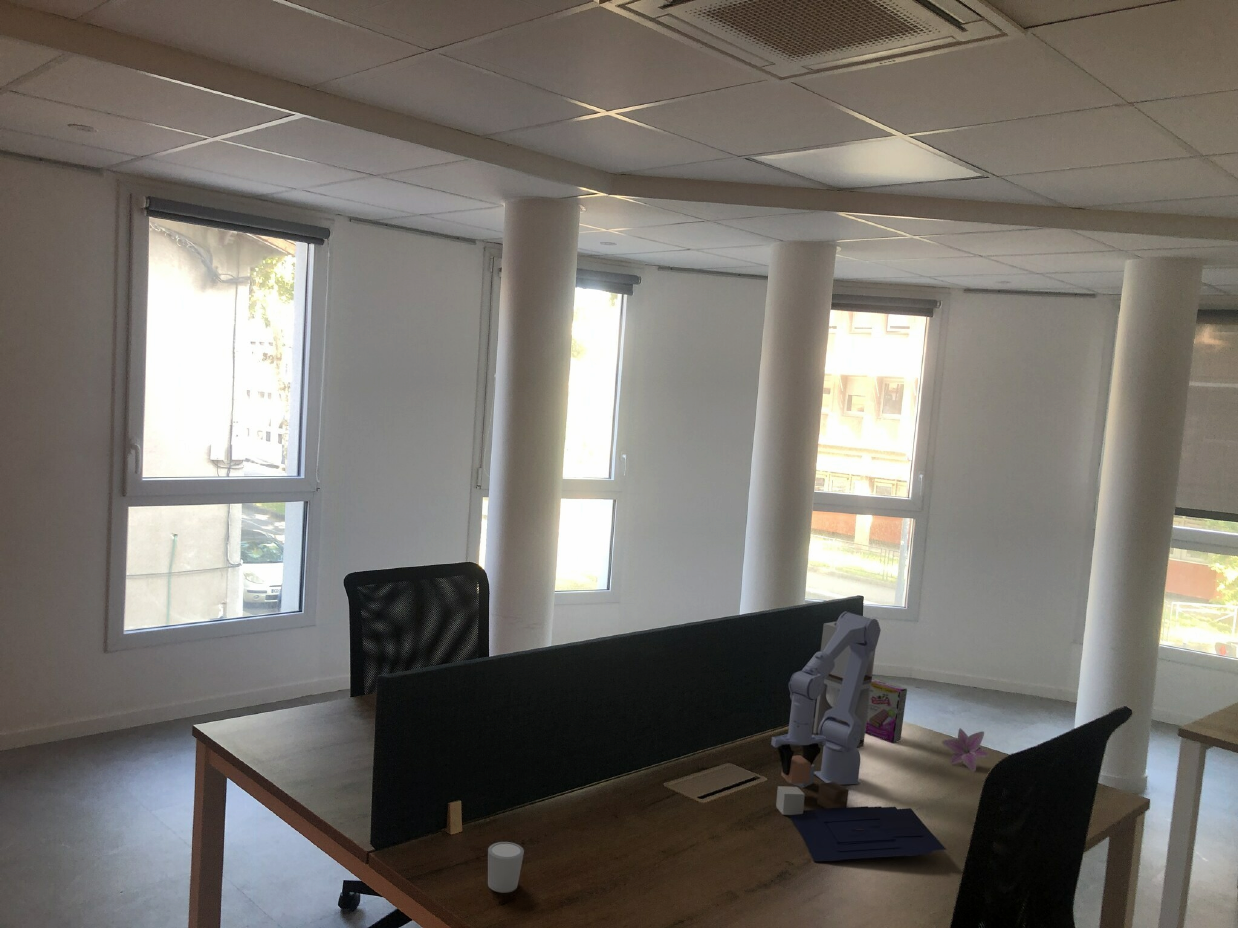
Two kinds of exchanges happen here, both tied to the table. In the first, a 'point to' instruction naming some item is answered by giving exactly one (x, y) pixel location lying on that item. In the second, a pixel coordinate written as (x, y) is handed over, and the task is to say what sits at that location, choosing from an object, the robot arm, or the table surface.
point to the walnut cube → (832, 795)
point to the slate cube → (809, 778)
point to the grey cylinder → (504, 866)
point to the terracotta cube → (798, 770)
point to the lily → (966, 748)
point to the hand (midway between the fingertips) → (795, 772)
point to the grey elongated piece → (834, 683)
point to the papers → (864, 833)
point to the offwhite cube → (790, 800)
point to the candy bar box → (885, 710)
